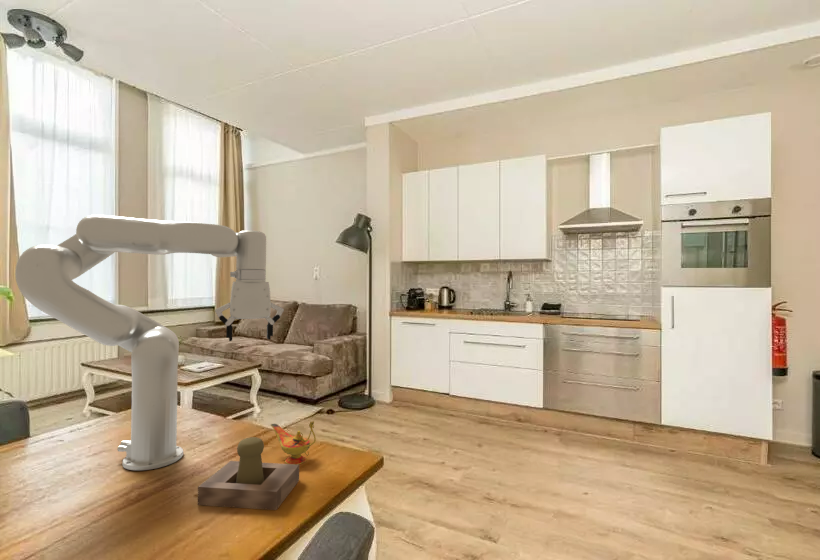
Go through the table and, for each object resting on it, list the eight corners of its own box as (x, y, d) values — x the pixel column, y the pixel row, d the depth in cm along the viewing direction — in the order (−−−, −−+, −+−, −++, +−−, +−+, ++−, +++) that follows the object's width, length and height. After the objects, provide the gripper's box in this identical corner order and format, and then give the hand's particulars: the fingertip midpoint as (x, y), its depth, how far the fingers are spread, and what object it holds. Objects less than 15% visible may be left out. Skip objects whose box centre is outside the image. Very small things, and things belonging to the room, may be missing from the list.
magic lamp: (282, 445, 110) (283, 404, 110) (326, 463, 99) (327, 418, 99) (259, 453, 105) (260, 410, 105) (303, 473, 94) (303, 425, 94)
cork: (254, 501, 82) (255, 446, 82) (227, 497, 83) (228, 443, 83) (270, 486, 88) (271, 435, 88) (245, 483, 89) (246, 432, 89)
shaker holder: (197, 504, 80) (197, 486, 80) (230, 476, 92) (230, 460, 92) (276, 510, 79) (276, 491, 79) (299, 480, 91) (299, 464, 91)
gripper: (215, 275, 104) (214, 343, 104) (285, 277, 111) (284, 340, 111) (216, 276, 111) (214, 339, 111) (282, 277, 118) (281, 336, 118)
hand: (249, 339), depth 111 cm, fingers open, 9 cm apart
